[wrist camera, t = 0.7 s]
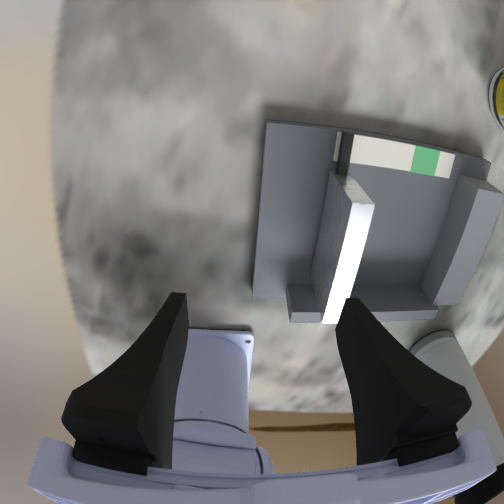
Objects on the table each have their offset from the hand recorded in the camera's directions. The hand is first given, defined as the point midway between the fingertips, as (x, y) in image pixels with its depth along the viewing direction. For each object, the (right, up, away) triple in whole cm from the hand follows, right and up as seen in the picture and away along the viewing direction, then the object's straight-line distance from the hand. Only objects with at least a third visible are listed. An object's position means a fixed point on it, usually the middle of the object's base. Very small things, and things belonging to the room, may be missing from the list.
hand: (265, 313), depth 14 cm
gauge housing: (+8, +5, +8) cm, 13 cm away
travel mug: (+19, -8, +17) cm, 27 cm away
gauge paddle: (+5, +5, +6) cm, 9 cm away
